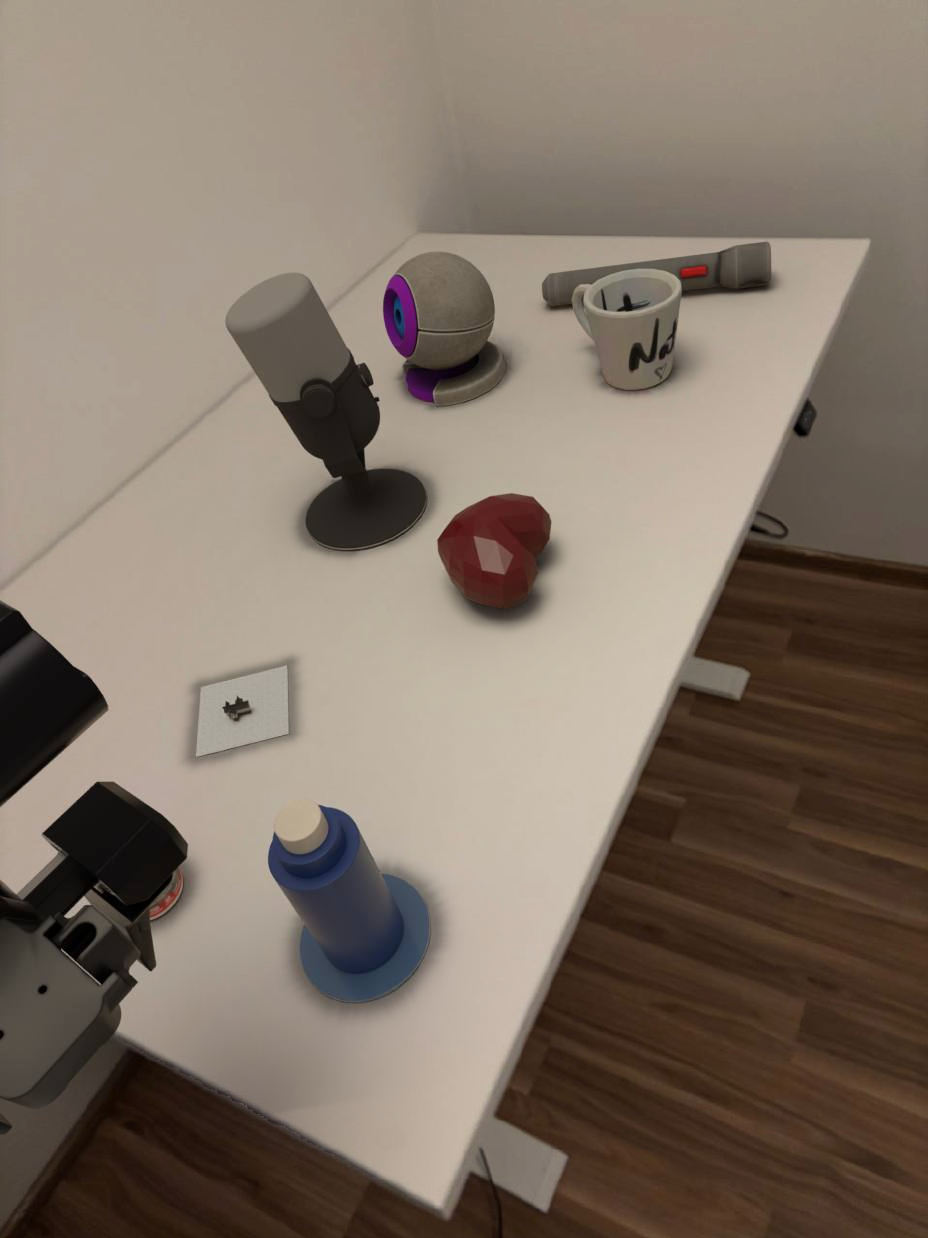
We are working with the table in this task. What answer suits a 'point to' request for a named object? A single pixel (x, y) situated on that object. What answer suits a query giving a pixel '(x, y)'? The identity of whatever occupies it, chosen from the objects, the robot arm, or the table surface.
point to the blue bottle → (335, 886)
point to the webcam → (443, 328)
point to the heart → (495, 548)
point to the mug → (632, 324)
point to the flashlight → (677, 272)
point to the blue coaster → (388, 974)
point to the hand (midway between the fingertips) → (80, 1041)
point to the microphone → (325, 411)
